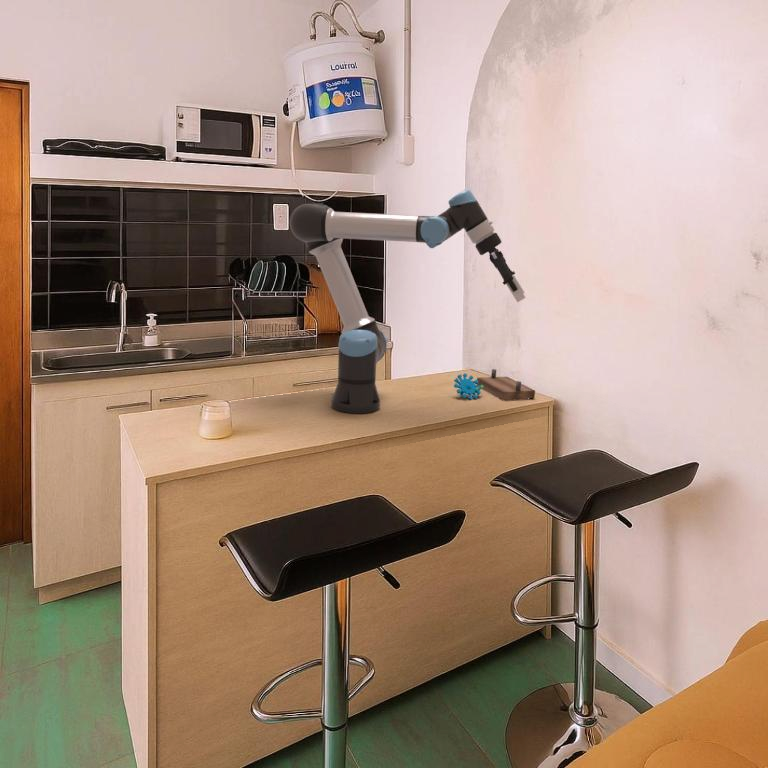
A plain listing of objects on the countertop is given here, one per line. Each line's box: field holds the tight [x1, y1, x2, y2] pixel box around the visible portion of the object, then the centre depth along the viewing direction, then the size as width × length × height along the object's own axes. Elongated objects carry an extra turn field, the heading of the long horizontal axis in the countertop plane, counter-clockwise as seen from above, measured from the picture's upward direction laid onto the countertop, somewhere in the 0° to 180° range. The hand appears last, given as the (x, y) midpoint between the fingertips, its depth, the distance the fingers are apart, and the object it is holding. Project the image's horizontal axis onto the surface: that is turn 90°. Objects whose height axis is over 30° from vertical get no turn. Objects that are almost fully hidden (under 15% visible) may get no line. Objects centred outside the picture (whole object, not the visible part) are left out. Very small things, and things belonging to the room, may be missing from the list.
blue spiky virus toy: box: [453, 372, 484, 401], centre depth 228 cm, size 11×6×10 cm
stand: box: [476, 368, 536, 401], centre depth 236 cm, size 12×20×6 cm, turn 18°
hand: (521, 297), depth 206 cm, fingers open, 13 cm apart
